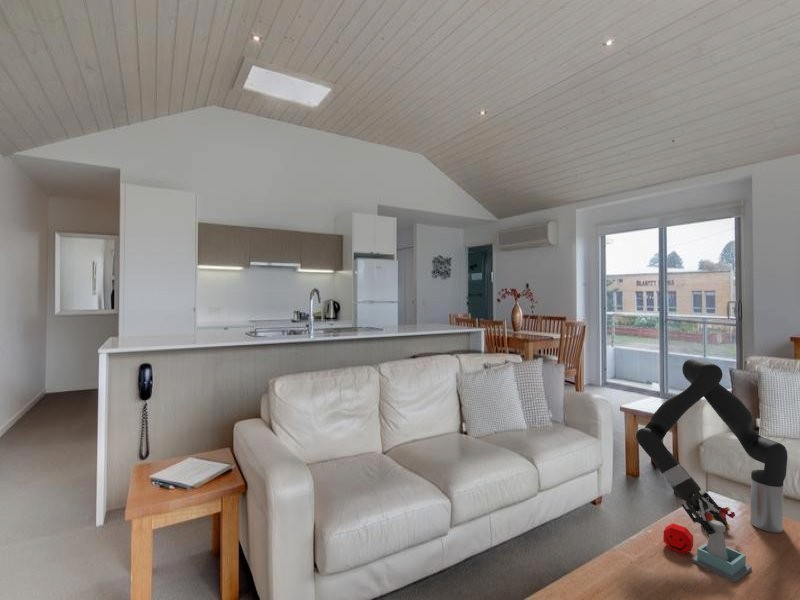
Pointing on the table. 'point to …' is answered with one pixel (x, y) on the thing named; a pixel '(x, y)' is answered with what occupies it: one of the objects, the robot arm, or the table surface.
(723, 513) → the book monster
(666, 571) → the table surface
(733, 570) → the stand
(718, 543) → the salt shaker
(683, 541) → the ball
